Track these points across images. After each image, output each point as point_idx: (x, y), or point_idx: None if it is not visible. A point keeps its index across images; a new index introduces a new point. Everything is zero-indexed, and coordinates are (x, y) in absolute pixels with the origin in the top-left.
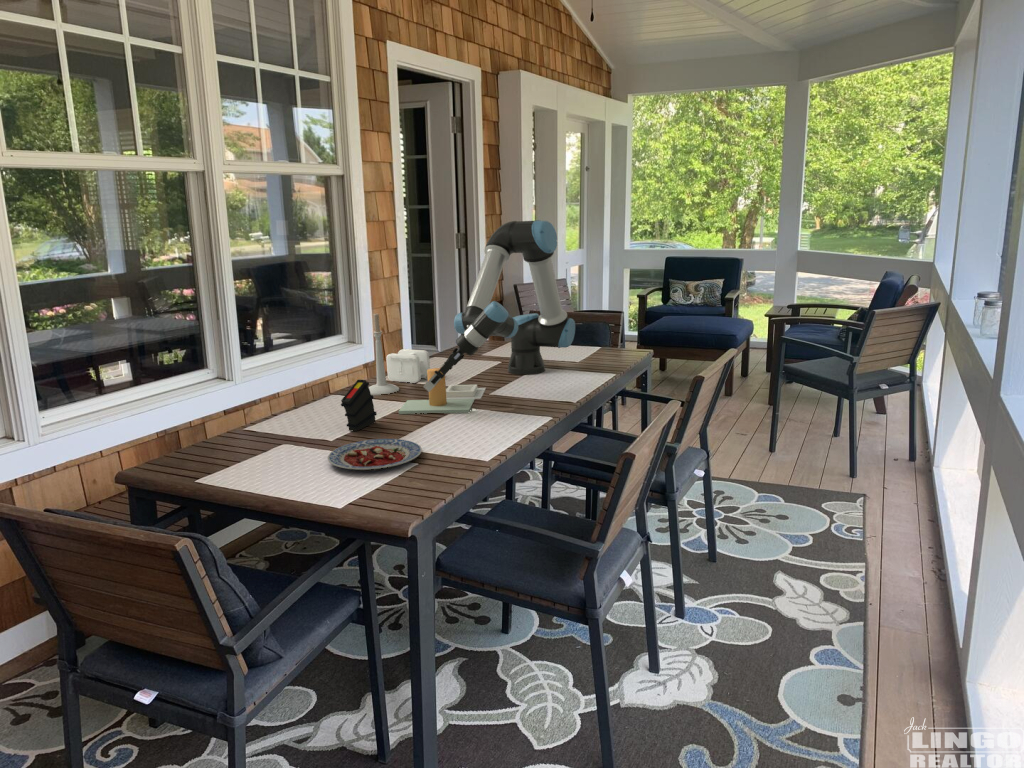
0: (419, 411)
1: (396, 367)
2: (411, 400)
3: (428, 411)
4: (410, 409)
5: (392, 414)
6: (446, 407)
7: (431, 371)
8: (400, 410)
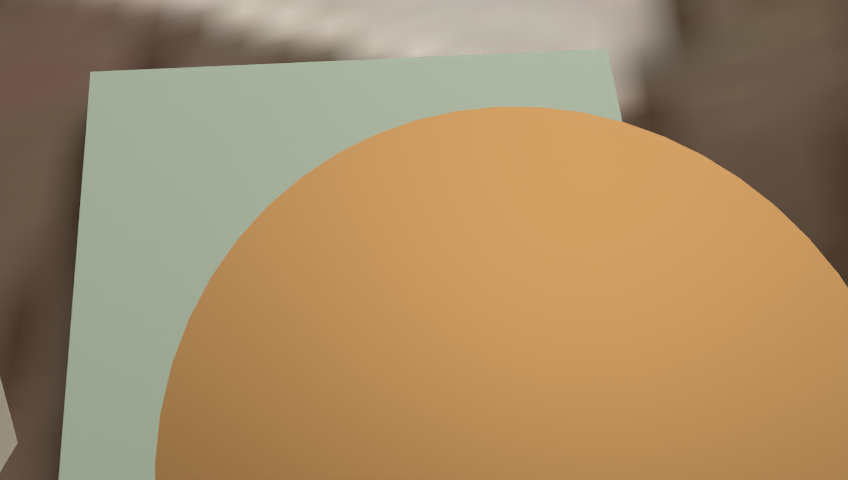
0: (76, 335)
1: None
2: (596, 97)
3: (65, 470)
4: (140, 197)
5: (109, 33)
6: None
7: (267, 317)
8: (101, 89)
